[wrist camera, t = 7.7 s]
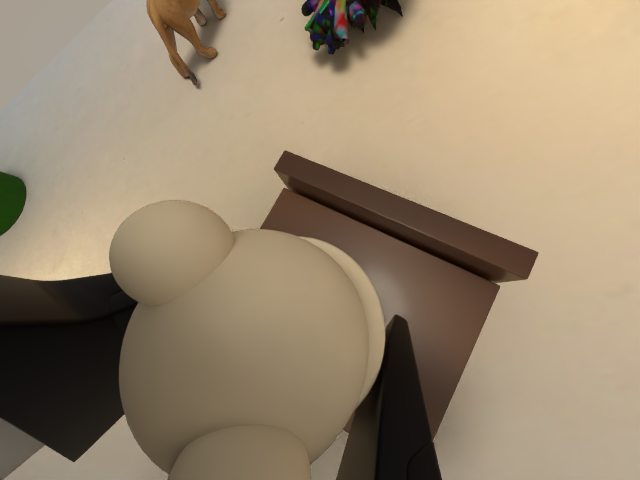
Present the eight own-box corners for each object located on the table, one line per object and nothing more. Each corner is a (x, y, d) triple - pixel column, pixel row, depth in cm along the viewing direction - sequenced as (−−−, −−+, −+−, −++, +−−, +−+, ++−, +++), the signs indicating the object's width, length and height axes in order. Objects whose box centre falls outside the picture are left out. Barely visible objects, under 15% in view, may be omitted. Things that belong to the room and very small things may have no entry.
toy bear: (349, 248, 13) (286, 82, 3) (396, 343, 11) (574, 623, 2) (263, 289, 13) (-42, 261, 3) (298, 386, 12) (-62, 834, 2)
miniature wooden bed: (405, 445, 17) (425, 522, 11) (229, 322, 21) (176, 331, 15) (486, 266, 18) (540, 252, 12) (305, 187, 23) (284, 149, 17)
